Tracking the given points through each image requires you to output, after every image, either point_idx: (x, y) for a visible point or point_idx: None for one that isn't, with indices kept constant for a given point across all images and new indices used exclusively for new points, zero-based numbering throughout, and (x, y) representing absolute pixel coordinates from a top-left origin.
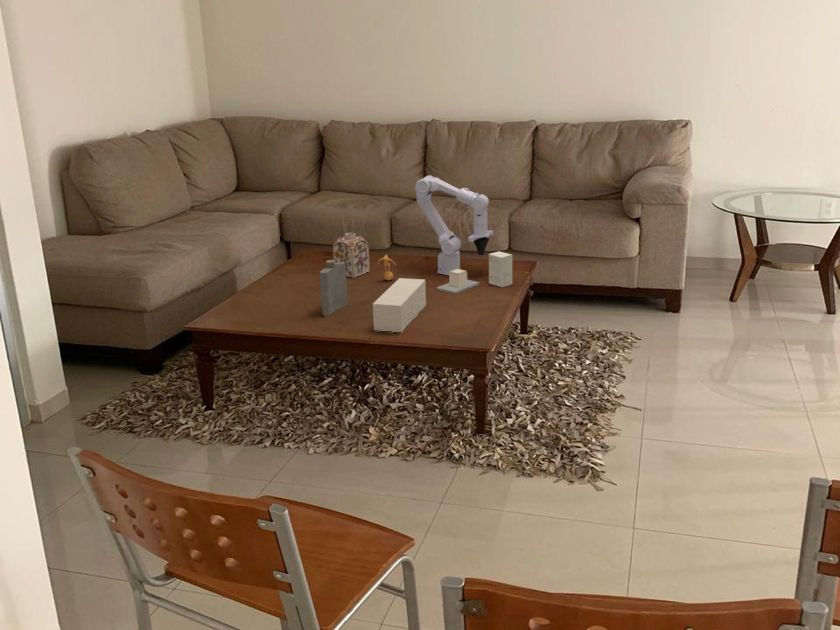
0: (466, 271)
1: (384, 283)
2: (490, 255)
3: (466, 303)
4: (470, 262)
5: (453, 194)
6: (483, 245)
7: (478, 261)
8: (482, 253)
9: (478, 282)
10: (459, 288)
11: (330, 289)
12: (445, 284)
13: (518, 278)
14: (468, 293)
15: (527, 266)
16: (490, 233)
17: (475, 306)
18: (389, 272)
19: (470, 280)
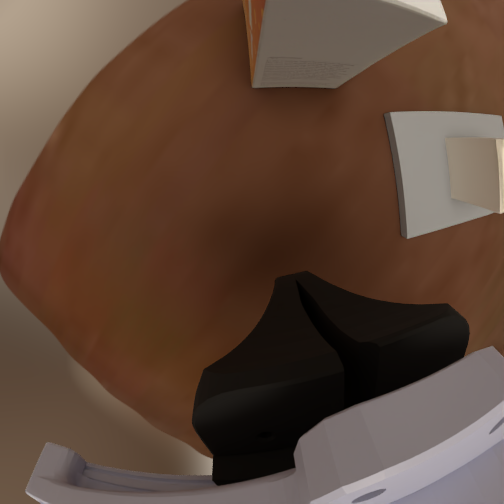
0: (495, 139)
1: (499, 346)
2: (435, 3)
3: (494, 37)
4: (182, 406)
5: None
6: (343, 310)
7: (148, 397)
8: (309, 273)
9: (394, 114)
10: (482, 128)
11: None
12: (484, 212)
13: (141, 62)
14: (466, 79)
15: (13, 217)
16: (89, 494)
17: (481, 6)
18: None
19: (402, 172)
